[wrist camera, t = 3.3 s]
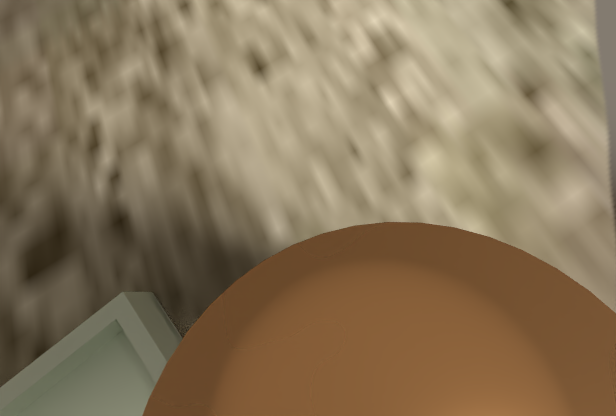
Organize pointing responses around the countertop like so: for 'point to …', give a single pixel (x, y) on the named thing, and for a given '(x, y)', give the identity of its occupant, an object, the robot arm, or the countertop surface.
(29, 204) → the countertop surface
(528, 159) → the countertop surface
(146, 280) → the countertop surface
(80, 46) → the countertop surface
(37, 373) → the bin
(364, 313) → the grey and gold cylinder
